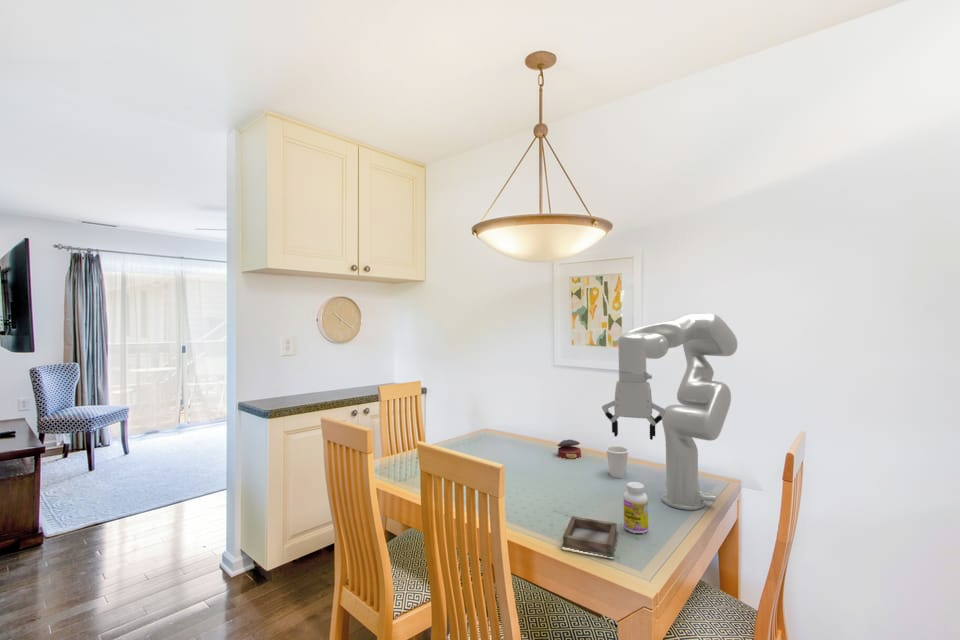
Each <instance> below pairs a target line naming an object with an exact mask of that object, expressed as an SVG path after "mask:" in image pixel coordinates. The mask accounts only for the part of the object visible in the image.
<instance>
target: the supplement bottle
mask: <svg viewBox="0 0 960 640" xmlns="http://www.w3.org/2000/svg"><path fill="white" fill-rule="evenodd" d="M626 489H627V490H626V491H625V492H624V493H623V527H624V529H625V530H626V531H627V530H628V531H627V532H629V531H630V533H631V532H633V533H632V534H635V533H643V534H646V533H647V532H648V531H649V497H648V495H647V494H646V493H645V492H644V491H645V485H644V484H643V483H641V482H637V481H630V482H627V483H626ZM645 532H646V533H645Z"/></svg>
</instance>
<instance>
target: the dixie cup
mask: <svg viewBox="0 0 960 640" xmlns="http://www.w3.org/2000/svg"><path fill="white" fill-rule="evenodd" d="M605 450H606V456H607V457H606V458H607V462H608V469H609V476H610V477H612V476H613V477H612V478H617V479H619V478H621V479H622V478H625V477H626V474H627V464H628V456H629V455H628V454H629V451H630V450H629V448H627V447H624V446H618V445H611V446H607V447H606V448H605Z"/></svg>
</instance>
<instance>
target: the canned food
mask: <svg viewBox="0 0 960 640" xmlns="http://www.w3.org/2000/svg"><path fill="white" fill-rule="evenodd" d="M579 445H580V442H579V441H577V440H574V439H565V440H564V439H563V440H562V441H560V442H559V443H558V444H557V445H556V446H557V447H558V448H557V453H558V454H557V455H558V458H560V457H561V459H563V458H565V459H564V460H577V459H576V458H578V459H580V458H581V457H582V450H581V448H580V447H579ZM577 446H578V447H577ZM579 457H580V458H579Z"/></svg>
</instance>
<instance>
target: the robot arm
mask: <svg viewBox="0 0 960 640" xmlns="http://www.w3.org/2000/svg"><path fill="white" fill-rule="evenodd" d="M736 336H737V335H735V333H734V332H733V331H732V329H731V328H730V327H729V326H728V324H727V323H726V322H725V320H723V318H722V317H720V316H718V315H717V314H714V313H686V314H682V315H680V316H677V317H675V318H672V319H670V320H668V321H664V322H659V323H655V324H650V325H646V326H641V327H637V328H633V329H632V330H629V331H626V332H624V333H623V334H622V335H620V336H619V337H618V340H617V341H618V346H617V347H618V348H617V349H618V380H617V381H616V384H615V390H614V400H613V401H610V402H608V403H606V404H604V405H602V406H601V409H602V411H603V412H604V415H605V416H606V418H607V419H608V420H609V421H610V422H611V433H612V434H613V435H614V438H615V437H618V435H619V422H618V419H619V418H620V417H621V418H633V419H647V421H648V422H649V423H650V424H649V440H651V441H652V440H653V438H654V437H656V426H657V424H658V423H660V422H662V427H663V432H664V439H665V440H664V441H665V465H666V466H665V476H666V477H665V478H666V481H665V482H666V491H665V492H664V493H662V494H661V500H662V502H663V503H664V504H665V505H667V506H669V507H671V508H676V509H679V510H687V511H695V510H699V509H702V508H704V507H705V501H707V502H712V503H716V496H715V495H713V494H711V493H710V492H705V491H704V492H703V491H701V489H700V486H699V451H698V447H697V444H696V442H695V440H694V439H698V440H703V441H704V440H705V441H710V442H711V441H715V440H717V439H718V438H719V436H720V434H721V432H722V430H723V427H724V424H725V420H726V418H727V415H728V412H729V409H730V406H731V402H732V395H731V394H732V393H731V389H730V388H729V386H728V385H727V384H726V383H725V382H722V381H717V380H713V377H714V373H715V371H714V369H713V366H712V365H711V364H710V362H709V361H708V360H707V359H706V357H705V356H711V357H712V356H713V357H730V356H732V355H734V354H735V353H736V352H737V350H738V339H737V337H736ZM681 345H682V348H683V353H684V356H685V360H686V369H685V372H684V375H683V377H682V379H681V381H680V383H679V387H678V390H677V391H676V398H677V399H676V400H677V401H678V402H679V404H672V405H670V404H669V405H667V406H666V407H665V408H663V407H661V406H659V405H658V404H656V403H654V402H653V399H652V389H651V384H650V382H649V381H648V380H650V379H651V380H652V379H653V374H652V373H651V374H650V373H648V371H647V359H649V360H651V359H653V360H654V359H655V360H657V359H660V358H663V357H665V356H666V355H667V353H668V350H669V349H673V348H677V347H679V346H681ZM613 407H614V409H613V411H614V414H613V413H611V412H610V410H609V409H610V408H613ZM653 410H655V411H657V412H658V415H657V416H656V417H654V416H653V415H652V414H653Z"/></svg>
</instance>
